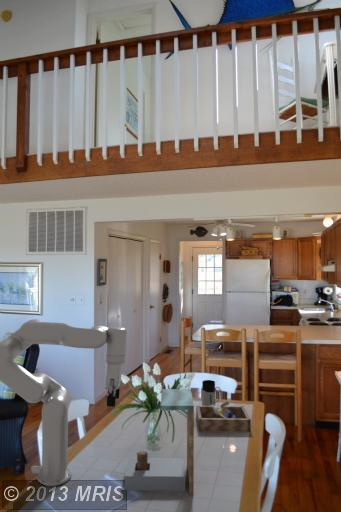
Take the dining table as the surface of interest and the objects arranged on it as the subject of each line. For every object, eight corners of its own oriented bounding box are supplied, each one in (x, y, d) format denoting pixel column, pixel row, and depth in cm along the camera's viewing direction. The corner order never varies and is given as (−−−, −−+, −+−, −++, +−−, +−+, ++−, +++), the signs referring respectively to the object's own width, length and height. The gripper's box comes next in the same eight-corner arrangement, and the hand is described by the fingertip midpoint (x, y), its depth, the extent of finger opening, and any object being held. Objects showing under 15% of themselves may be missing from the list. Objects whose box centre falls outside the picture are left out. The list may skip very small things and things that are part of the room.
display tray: (198, 431, 195) (198, 419, 195) (196, 416, 215) (196, 405, 215) (250, 431, 195) (250, 419, 195) (243, 417, 215) (243, 406, 215)
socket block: (124, 490, 142) (124, 476, 142) (128, 470, 156) (128, 457, 156) (184, 490, 142) (184, 476, 142) (183, 471, 156) (183, 458, 156)
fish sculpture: (215, 392, 212) (217, 401, 197) (247, 409, 211) (252, 419, 196) (205, 412, 212) (206, 423, 197) (237, 430, 211) (241, 442, 196)
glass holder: (208, 403, 236) (208, 378, 237) (225, 410, 225) (225, 384, 226) (198, 406, 231) (198, 381, 231) (215, 413, 219) (215, 386, 220)
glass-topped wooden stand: (159, 495, 139) (160, 405, 140) (161, 467, 159) (161, 389, 160) (193, 495, 139) (193, 405, 140) (190, 467, 159) (190, 389, 160)
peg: (136, 482, 147) (136, 455, 147) (137, 477, 151) (137, 451, 151) (147, 482, 147) (147, 455, 147) (147, 477, 151) (147, 451, 151)
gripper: (110, 353, 164) (107, 395, 163) (101, 362, 146) (99, 409, 146) (127, 354, 163) (125, 396, 163) (121, 364, 146) (119, 410, 145)
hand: (113, 402), depth 154 cm, fingers open, 9 cm apart
